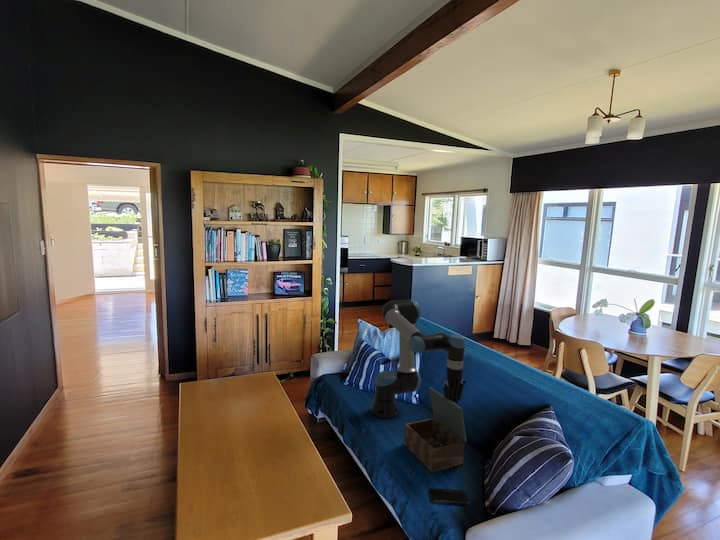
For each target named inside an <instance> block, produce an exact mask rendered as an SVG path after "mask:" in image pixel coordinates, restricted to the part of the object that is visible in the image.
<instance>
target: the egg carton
mask: <svg viewBox="0 0 720 540" xmlns="http://www.w3.org/2000/svg"><path fill="white" fill-rule="evenodd" d="M426 442H427V443H429V444H430V445H431V446H432V447H433V448H434V449H436V448H440V447H443V444H442V445H441V444H440V442H437V441H435V440H433V439H432V438H430V439H429V441H426Z"/></svg>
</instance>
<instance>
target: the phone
mask: <svg viewBox="0 0 720 540" xmlns="http://www.w3.org/2000/svg"><path fill="white" fill-rule="evenodd" d="M428 494H429V498H430V502H431V503H432V504H441V505H442V504H443V505H455V506H456V505H457V506H465V507H466V506H469V505H470V501H469V498H468V494H467V492H466V491H465V490H462V489H451V488H450V489H449V488H435V487H430V488H428Z"/></svg>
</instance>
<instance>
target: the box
mask: <svg viewBox="0 0 720 540" xmlns="http://www.w3.org/2000/svg"><path fill="white" fill-rule="evenodd" d="M403 431H404V433H403V446H405V447H406V448H407V449H408V450H409V451H410V452H411V454H413V455H414V456H415V457H416V458H417V459H418V461H420V462H421V464H423V465H424V466H425V467H426V468H427V470H429V472H431V473H432V474H433V473H437V472H439V471H440V472H441V471H444V470H447V469H446V468H448V469H450V468H449V467H451V468H454V467H453V466H455V467H458V466H461V464H462V465H463V463H464V455H465V454H464V453H465V442H464V441H463V440H462V439H461V438H459V437H458V436H457V435H455V434H454V433H453V432H452V431H450V430H449V429H448V428H447V427H445V426H444V425H443V424H441V423H440V422H439V421H438V420H436V419H435V418H434V417H433V418H427V419H423V420H418V421H414V422H407V423H405V424H404V430H403ZM430 438H432V439H433V440H435V441H437V442H440V444H441V445H442V444H443V447H440V448H436V449H434V448H433V447H432V446H431V445H430V444H429V443H427V442H426V441H429V439H430ZM457 465H458V466H457ZM443 469H444V470H443Z"/></svg>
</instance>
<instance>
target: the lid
mask: <svg viewBox="0 0 720 540" xmlns="http://www.w3.org/2000/svg"><path fill="white" fill-rule="evenodd" d="M428 390H429V395H430V402H431V408H432V414H433V418H434V419H435V420H436V421H438V422H439V423H440V424H441V425H443V426H444V427H445V428H446V429H448V430H449V431H450V432H451V433H453V434H454V435H455V436H457V437H458V438H459V439H460V440H462V441H463V442H464V443H466V442H467V441H468V440H467V433H466V426H465V425H466V424H465V419H464V418H465V417H464V411H463V407H461V406H459V405H458V404H457V403H456V404H455V403H453V402H452V401H451V400H449V399H448V398H446V397H445V396H444V395H443V394H442V393H440V392H439V391H437V390H436V389H435V388H433V387H431V386H430V387H429V388H428Z"/></svg>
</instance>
